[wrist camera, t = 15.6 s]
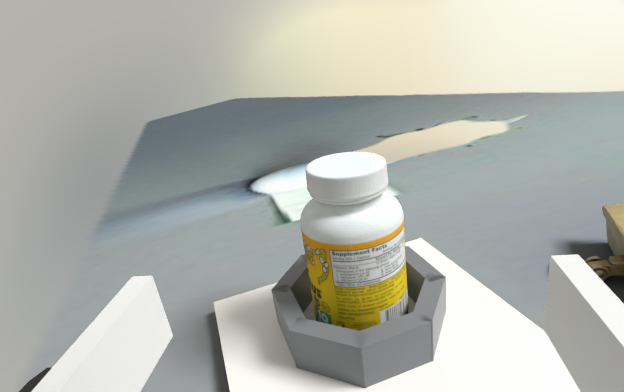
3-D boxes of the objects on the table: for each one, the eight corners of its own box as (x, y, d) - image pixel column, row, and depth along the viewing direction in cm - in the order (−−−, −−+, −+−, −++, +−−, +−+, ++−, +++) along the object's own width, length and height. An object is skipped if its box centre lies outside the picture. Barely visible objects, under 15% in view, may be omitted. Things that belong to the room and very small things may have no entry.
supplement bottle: (416, 350, 21) (409, 176, 17) (313, 356, 21) (285, 189, 17) (401, 287, 26) (392, 142, 22) (318, 293, 26) (296, 153, 22)
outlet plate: (688, 462, 15) (712, 396, 14) (288, 696, 11) (266, 636, 10) (421, 249, 31) (420, 208, 30) (216, 314, 27) (204, 271, 26)
